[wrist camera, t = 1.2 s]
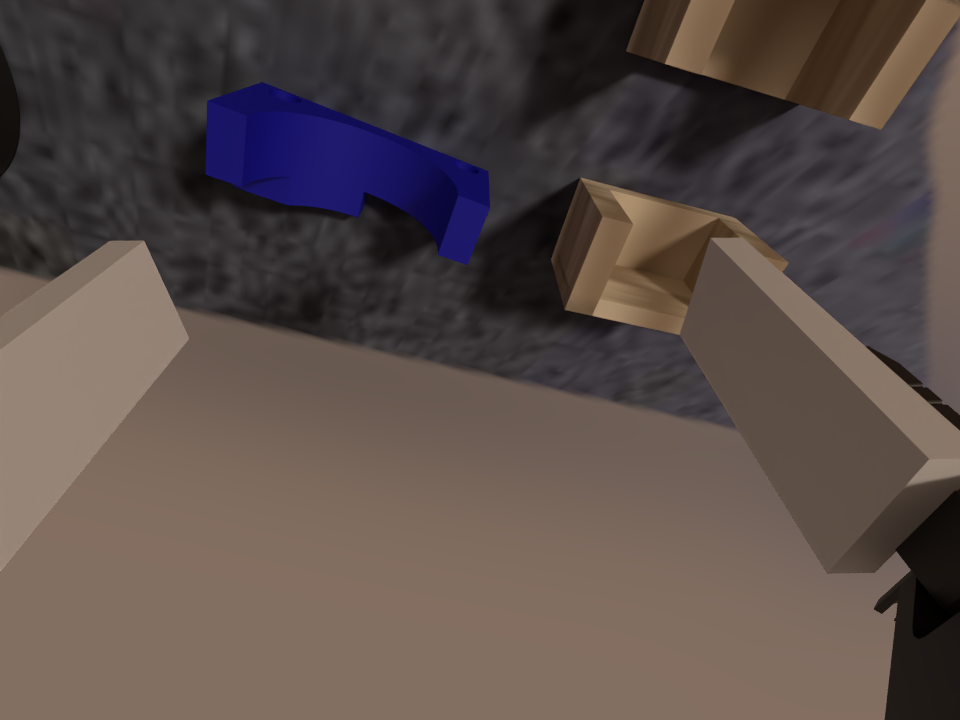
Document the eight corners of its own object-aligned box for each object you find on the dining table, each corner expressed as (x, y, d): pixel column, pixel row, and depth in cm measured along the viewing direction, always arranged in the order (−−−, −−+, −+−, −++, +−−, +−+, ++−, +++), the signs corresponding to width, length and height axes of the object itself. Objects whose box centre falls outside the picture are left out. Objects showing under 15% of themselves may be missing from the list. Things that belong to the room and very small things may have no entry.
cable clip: (255, 170, 26) (204, 206, 21) (263, 81, 23) (207, 100, 19) (461, 242, 28) (457, 290, 24) (488, 170, 26) (490, 207, 21)
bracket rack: (550, 259, 29) (564, 309, 24) (676, -89, 19) (739, -120, 15) (691, 291, 30) (731, 345, 25) (872, -20, 21) (989, -27, 16)
